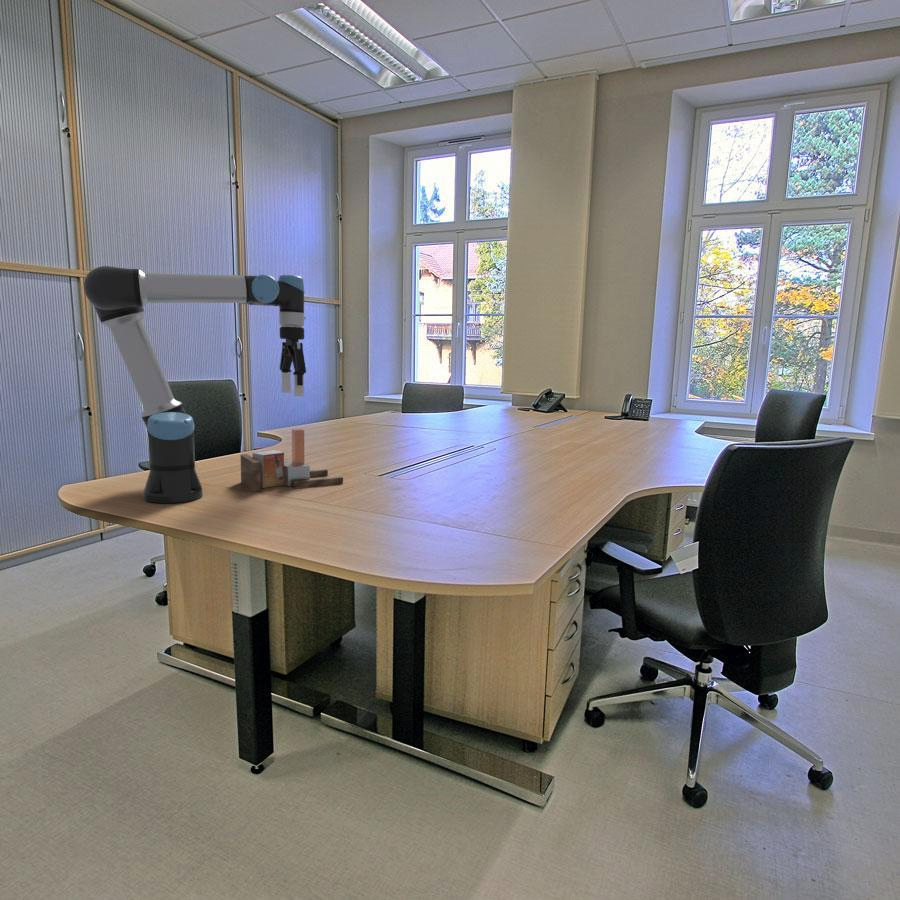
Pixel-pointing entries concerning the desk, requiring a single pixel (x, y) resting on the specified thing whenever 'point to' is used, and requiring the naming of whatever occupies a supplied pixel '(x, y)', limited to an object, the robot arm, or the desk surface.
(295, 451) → the mallet
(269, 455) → the small box
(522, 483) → the desk surface
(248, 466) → the frame
